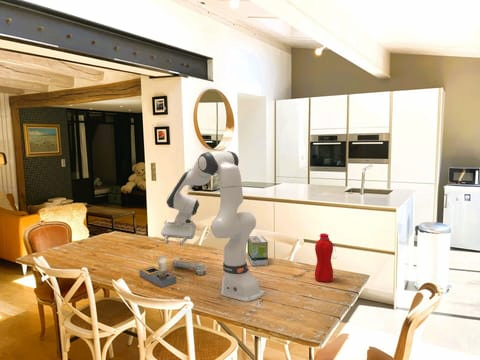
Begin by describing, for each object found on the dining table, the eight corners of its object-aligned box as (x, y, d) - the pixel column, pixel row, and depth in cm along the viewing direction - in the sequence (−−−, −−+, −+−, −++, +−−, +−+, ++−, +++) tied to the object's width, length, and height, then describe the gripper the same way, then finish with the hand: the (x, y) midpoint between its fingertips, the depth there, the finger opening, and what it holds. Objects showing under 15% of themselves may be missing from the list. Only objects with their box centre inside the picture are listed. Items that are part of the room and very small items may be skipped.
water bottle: (335, 284, 189) (335, 237, 186) (313, 281, 193) (314, 235, 190) (336, 277, 197) (337, 232, 194) (316, 275, 201) (316, 231, 198)
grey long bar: (178, 258, 222) (207, 261, 206) (179, 269, 222) (208, 272, 206) (171, 261, 218) (200, 264, 202) (172, 272, 218) (202, 275, 202)
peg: (168, 282, 196) (167, 256, 194) (161, 284, 193) (160, 258, 191) (164, 280, 198) (163, 255, 197) (157, 282, 196) (156, 257, 194)
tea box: (268, 265, 218) (268, 241, 217) (251, 266, 217) (251, 242, 215) (262, 257, 233) (262, 234, 231) (247, 258, 231) (246, 235, 230)
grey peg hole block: (176, 282, 195) (176, 276, 194) (162, 287, 188) (161, 280, 188) (153, 271, 211) (153, 265, 210) (139, 276, 205) (139, 269, 204)
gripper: (164, 219, 214) (155, 239, 206) (195, 221, 207) (187, 242, 199) (168, 224, 219) (160, 245, 211) (198, 227, 212) (191, 248, 204)
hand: (173, 243), depth 205 cm, fingers open, 8 cm apart
